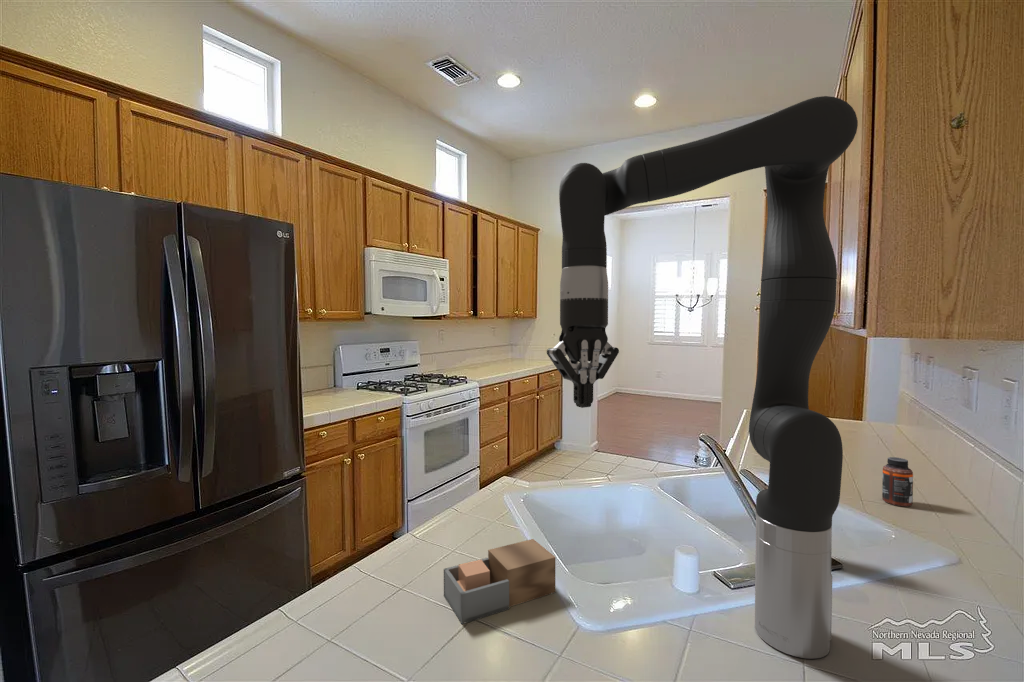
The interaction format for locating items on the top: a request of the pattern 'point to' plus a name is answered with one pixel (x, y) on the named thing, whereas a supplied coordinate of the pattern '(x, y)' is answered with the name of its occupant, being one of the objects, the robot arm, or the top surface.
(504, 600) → the tray
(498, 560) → the brown block
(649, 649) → the top surface
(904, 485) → the supplement bottle
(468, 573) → the tile
